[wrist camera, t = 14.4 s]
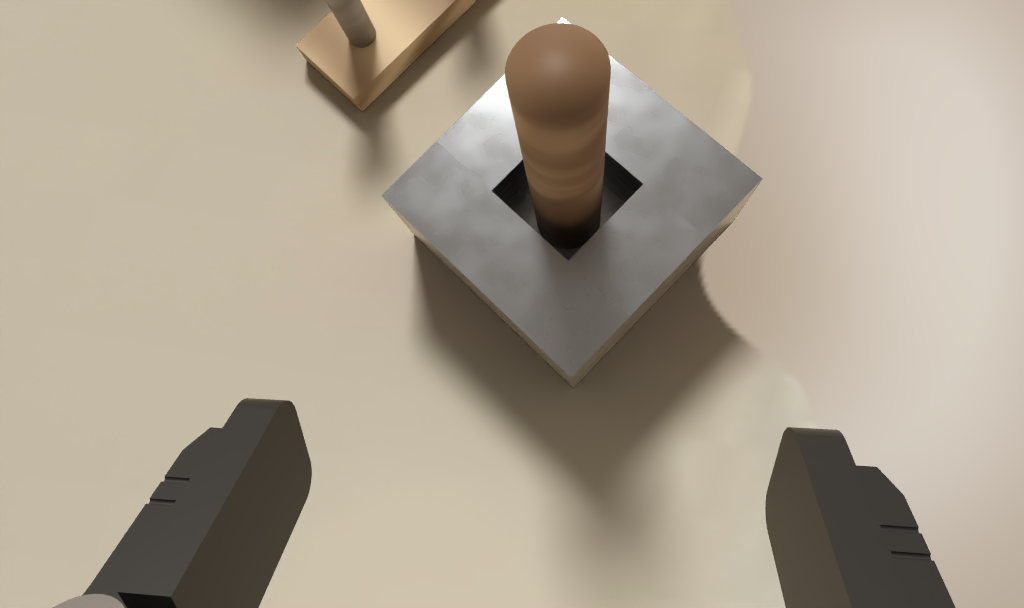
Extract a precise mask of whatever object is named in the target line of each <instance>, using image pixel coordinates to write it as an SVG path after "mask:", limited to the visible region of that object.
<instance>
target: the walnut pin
mask: <svg viewBox="0 0 1024 608" xmlns="http://www.w3.org/2000/svg"><path fill="white" fill-rule="evenodd" d="M610 77H611V64H610V58H609V55H608V52H607V50H606V48H605V47H604V45H603V43H602V42H601V41H600V40H599V39H598V38H597V37H596V36H595V35H594V34H593V33H591V32H590V31H588V30H586V29H584V28H582V27H579V26H577V25H572V24H566V23H555V24H548V25H544V26H541V27H539V28H536V29H534V30H532V31H530V32H529V33H527V34H526V35H525V36H523V37H522V38H521V39H520V40H519V41H518V42H517V43H516V44H515V46H514V47H513V49H512V50H511V52H510V54H509V56H508V59H507V62H506V67H505V81H506V85H507V90H508V94H509V99H510V103H511V108H512V112H513V117H514V121H515V126H516V130H517V135H518V139H519V144H520V149H521V153H522V158H523V162H524V167H525V171H526V176H527V180H528V185H529V189H530V194H531V198H532V203H533V207H534V212H535V216H536V221H537V225H538V229H539V231H540V233H541V235H542V236H543V238H544V239H545V240H546V241H547V242H549V243H550V244H552V245H553V246H556V247H558V248H563V249H574V248H578V247H581V246H583V245H584V244H585V243H586V242H587V241H588V240H589V239H590V238H591V237H592V236H593V235H594V234H595V233H596V232H597V231H598V228H599V225H600V218H601V204H602V190H603V176H604V162H605V148H606V133H607V119H608V105H609V91H610Z"/></svg>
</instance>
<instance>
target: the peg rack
mask: <svg viewBox="0 0 1024 608" xmlns="http://www.w3.org/2000/svg"><path fill="white" fill-rule="evenodd" d="M325 1H326V2H327V4H328V6H329V7H330V9H331V12H330V13H329V14H328V15H327V16H326V17H325V18H324V19H322V20H321V21H320V22H319V23H318V24H317V25H316V26H315V27H314V28H313V29H312V30H311V31H310V32H309V33H308V34H307V35H306V36H305V37H304V38H303V39H302V40H300V41H299V42H298V43H297V44H296V47H297V48H298V49H299V51H300V52H301V53H302V55H303V56H304V58H305V59H306V60H307V61H308V62H309V63H310V64H311V65H312V66H313V67H314V68H316V69H317V70H318V71H319V72H320V73H321V74H322V75H323V76H324V77H325V78H326V79H327V80H328V81H330V82H331V83H332V84H333V85H334V86H335V87H336V88H337V89H338V90H339V91H340V92H341V93H342V94H344V95H345V96H346V97H347V98H348V99H349V100H350V101H351V102H352V103H353V104H354V105H355V106H356V107H358V108H359V109H360V110H361V111H362V112H363V111H364V110H365V109H366V108H367V107H368V106H369V105H370V104H371V103H372V102H373V101H374V100H375V99H376V98H377V97H378V96H379V95H380V94H381V93H382V92H383V91H384V90H385V89H386V88H387V87H388V86H389V85H390V84H392V83H393V82H394V81H395V80H396V79H397V78H398V77H399V76H400V75H401V74H402V73H403V72H404V71H405V70H406V69H407V68H408V67H409V66H410V65H411V64H412V63H413V62H414V61H415V60H416V59H417V58H418V57H419V56H420V55H421V54H422V53H423V52H424V51H425V50H426V49H428V48H429V47H430V46H431V45H432V44H433V43H434V42H435V41H436V40H437V39H438V38H439V37H440V36H441V35H442V34H443V33H444V32H445V31H446V30H447V29H448V28H449V27H450V26H451V25H452V24H453V23H454V22H455V21H456V20H457V19H458V18H459V17H460V16H461V15H463V14H464V13H465V12H466V11H467V10H468V9H469V8H470V7H471V6H472V5H473V4H474V3H475V2H476V1H477V0H325Z"/></svg>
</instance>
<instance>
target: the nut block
mask: <svg viewBox="0 0 1024 608" xmlns="http://www.w3.org/2000/svg"><path fill="white" fill-rule="evenodd" d="M557 23H566V24H570V23H569V22H568V21H567V20H565V19H564V18H563V17H562V18H561V19H560V20H559V21H558V22H557ZM608 55H609V54H608ZM609 58H610V64H611V77H610V91H609V105H608V119H607V133H606V148H605V162H604V176H603V190H602V204H601V218H600V225H599V228H598V231H597V232H596V233H595V234H594V235H593V236H592V237H591V238H590V239H589V240H588V241H587V242H586V243H585V244H584V245H583V246H581V247H578V248H574V249H563V248H558V247H556V246H553V245H552V244H550V243H549V242H547V241H546V240H545V239H544V238H543V236H542V235H541V233H540V231H539V229H538V225H537V221H536V216H535V212H534V207H533V203H532V198H531V194H530V189H529V185H528V180H527V176H526V171H525V167H524V162H523V158H522V153H521V149H520V144H519V139H518V135H517V130H516V126H515V121H514V117H513V112H512V108H511V103H510V99H509V94H508V90H507V85H506V81H505V74H504V75H503V76H502V77H501V78H500V79H499V80H498V81H497V82H496V83H495V84H494V85H493V86H492V87H491V88H490V89H489V90H488V91H487V92H486V93H485V94H484V95H483V96H482V97H481V98H480V99H479V100H478V101H477V102H476V103H475V104H474V105H473V106H472V107H471V108H470V109H469V110H468V111H467V112H466V113H465V114H464V115H463V116H462V117H461V118H460V119H459V120H458V121H457V122H456V123H455V124H454V125H453V126H452V127H451V128H450V129H449V130H448V131H447V132H446V133H445V134H444V135H443V136H442V137H441V138H440V139H438V140H437V141H436V142H435V143H434V144H433V145H432V146H431V147H430V148H429V149H428V150H427V151H426V152H425V153H424V154H423V155H422V156H421V157H420V158H419V159H418V160H417V161H416V162H415V163H414V164H413V165H412V166H411V167H410V168H409V169H408V170H407V171H406V172H405V173H404V174H403V175H402V176H401V177H400V178H399V179H398V180H397V181H396V182H395V183H394V184H393V185H392V186H391V187H390V188H389V189H388V190H387V191H386V192H385V193H384V194H383V195H382V197H383V198H384V199H385V200H386V202H387V203H388V204H389V205H390V206H391V208H392V209H393V210H394V211H395V212H396V214H397V215H398V216H399V217H400V218H401V220H402V221H403V222H404V223H405V224H406V225H407V227H408V228H409V229H410V230H411V231H412V233H413V234H414V235H415V236H416V237H417V238H418V239H419V240H420V241H421V242H422V243H423V244H424V245H426V246H427V247H428V248H429V249H430V250H431V251H432V252H433V253H434V254H435V255H436V256H437V257H438V258H439V259H440V260H441V261H442V262H443V263H444V264H445V265H446V266H447V267H448V268H449V269H450V270H451V271H452V272H454V273H455V274H456V275H457V276H458V277H459V278H460V279H461V280H462V281H463V282H464V283H465V284H466V285H467V286H468V287H469V288H470V289H471V290H472V291H473V292H474V293H475V294H476V295H477V296H478V297H479V298H481V299H482V300H483V301H484V302H485V303H486V304H487V305H488V306H489V307H490V308H491V309H492V310H493V311H494V312H495V313H496V314H497V315H498V316H499V317H500V318H501V319H502V320H503V321H504V322H505V323H506V324H507V325H509V326H510V327H511V328H512V329H513V330H514V331H515V332H516V333H517V334H518V335H519V336H520V337H521V338H522V339H523V340H524V341H525V342H526V343H527V344H528V345H529V346H530V347H531V348H532V349H533V350H534V351H536V352H537V353H538V354H539V355H540V356H541V357H542V358H543V359H544V360H545V361H546V362H547V363H548V364H549V365H550V366H551V367H552V368H553V369H554V370H555V371H556V372H557V373H558V374H559V375H560V376H561V377H563V378H564V379H565V380H566V381H567V382H568V383H569V384H570V385H571V386H572V387H573V388H574V387H575V386H576V385H577V384H578V383H579V382H580V381H581V380H582V378H583V377H584V376H585V375H586V374H587V373H588V372H589V371H590V370H591V369H592V368H593V367H594V366H595V365H596V364H597V363H598V362H599V361H600V360H601V359H602V358H603V357H604V356H605V355H606V354H607V352H608V351H609V350H610V349H611V348H612V347H613V346H614V345H615V344H616V343H617V342H618V341H619V340H620V339H621V338H622V337H623V336H624V335H625V334H626V333H627V332H628V331H629V330H630V329H631V327H632V326H633V325H634V324H635V323H636V322H637V321H638V320H639V319H640V318H641V317H642V316H643V315H644V314H645V313H646V312H647V311H648V310H649V309H650V308H651V307H652V306H653V305H654V304H655V303H656V301H657V300H658V299H659V298H660V297H661V296H662V295H663V294H664V293H665V292H666V291H667V290H668V289H669V288H670V287H671V286H672V285H673V284H674V283H675V282H676V281H677V280H678V279H679V278H680V276H681V275H682V274H683V273H684V272H685V271H686V270H687V269H688V268H689V267H690V266H691V265H692V264H693V263H694V262H695V261H696V260H697V259H698V258H699V257H700V256H701V255H702V254H703V253H704V252H705V250H706V249H707V248H708V247H709V246H710V245H711V244H712V243H713V242H714V241H715V240H716V239H717V238H718V237H719V236H720V235H721V234H722V233H723V232H724V231H725V230H726V229H727V228H728V226H729V225H730V224H731V223H732V222H733V221H734V220H735V218H736V217H737V215H738V214H739V212H740V211H741V209H742V208H743V206H744V205H745V203H746V202H747V201H748V199H749V198H750V196H751V195H752V193H753V192H754V190H755V189H756V187H757V186H758V184H759V183H760V181H761V180H762V178H761V177H760V176H758V175H757V174H756V173H755V172H753V171H752V170H751V169H750V168H749V167H747V166H746V165H745V164H744V163H742V162H741V161H740V160H739V159H737V158H736V157H735V156H734V155H732V154H731V153H730V152H729V151H728V150H726V149H725V148H724V147H723V146H721V145H720V144H719V143H718V142H716V141H715V140H714V139H713V138H711V137H710V136H709V135H708V134H706V133H705V132H704V131H703V130H702V129H700V128H699V127H698V126H697V125H695V124H694V123H693V122H692V121H690V120H689V119H688V118H687V117H685V116H684V115H683V114H682V113H680V112H679V111H678V110H677V109H676V108H674V107H673V106H672V105H671V104H669V103H668V102H667V101H666V100H664V99H663V98H662V97H661V96H659V95H658V94H657V93H656V92H654V91H653V90H652V89H651V88H650V87H648V86H647V85H646V84H645V83H643V82H642V81H641V80H640V79H638V78H637V77H636V76H635V75H633V74H632V73H631V72H630V71H628V70H627V69H626V68H625V67H624V66H622V65H621V64H620V63H619V62H617V61H616V60H615V59H614V58H612V57H611V56H610V55H609Z"/></svg>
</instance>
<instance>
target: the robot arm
mask: <svg viewBox="0 0 1024 608" xmlns="http://www.w3.org/2000/svg"><path fill="white" fill-rule="evenodd" d="M311 476H312V469H311V462H310V458H309V454H308V451H307V447H306V444H305V440H304V437H303V433H302V430H301V426H300V423H299V419H298V416H297V412H296V409H295V406H294V405H293V403H292V402H290V401H285V400H267V399H249V398H246V399H244V400H242V401H241V402H240V403H239V404H238V405H237V406H236V408H235V410H234V411H233V413H232V414H231V416H230V417H229V419H228V420H227V422H226V424H225V425H224V427H223V428H209V429H208V430H207V431H206V432H204V433H203V434H202V435H201V436H199V437H198V438H197V439H196V440H195V441H193V442H192V443H191V444H190V445H188V446H187V447H186V448H185V449H183V451H182V452H181V453H180V455H179V456H178V458H177V459H176V461H175V462H174V464H173V465H172V467H171V468H170V470H169V471H168V472H167V474H166V475H165V480H164V482H161V483H160V484H159V486H158V487H157V488H156V490H155V491H154V493H153V494H152V496H151V497H150V503H149V504H146V505H145V506H144V507H143V509H142V510H141V512H140V513H139V515H138V516H137V518H136V519H135V521H134V522H133V524H132V525H131V526H130V528H129V529H128V531H127V532H126V534H125V535H124V537H123V538H122V540H121V541H120V542H119V544H118V545H117V547H116V548H115V550H114V551H113V553H112V554H111V556H110V557H109V559H108V560H107V561H106V563H105V564H104V566H103V567H102V569H101V570H100V572H99V573H98V575H97V576H96V578H95V579H94V580H93V582H92V583H91V585H90V586H89V587H88V589H87V590H86V591H85V593H84V594H83V595H82V596H79V597H75V598H72V599H70V600H67V601H65V602H63V603H61V604H59V605H57V606H55V607H53V608H258V607H259V605H260V603H261V600H262V598H263V596H264V594H265V591H266V589H267V587H268V585H269V582H270V580H271V578H272V576H273V574H274V571H275V569H276V567H277V565H278V562H279V560H280V558H281V556H282V553H283V551H284V549H285V547H286V544H287V542H288V540H289V538H290V535H291V533H292V531H293V529H294V527H295V524H296V522H297V520H298V518H299V515H300V513H301V511H302V509H303V506H304V504H305V502H306V499H307V497H308V494H309V490H310V485H311ZM766 524H767V530H768V535H769V539H770V543H771V547H772V551H773V555H774V560H775V564H776V568H777V572H778V576H779V581H780V585H781V589H782V593H783V597H784V601H785V606H786V608H955V606H954V604H953V602H952V599H951V597H950V595H949V593H948V590H947V588H946V586H945V584H944V582H943V579H942V577H941V575H940V573H939V571H938V569H937V566H936V564H935V562H934V561H932V560H931V558H930V555H931V553H930V551H929V549H928V547H927V545H926V543H925V540H924V538H923V536H922V534H919V532H918V525H917V523H916V521H915V519H914V516H913V514H912V512H911V510H910V508H909V505H908V503H907V501H906V499H905V497H904V495H903V494H902V493H901V492H900V491H899V490H898V489H897V488H896V487H895V486H894V484H892V482H891V481H890V480H889V479H888V478H887V477H886V476H885V475H884V474H883V473H882V472H881V471H880V470H879V469H878V468H877V467H869V466H856V465H855V462H854V460H853V457H852V455H851V452H850V450H849V448H848V445H847V442H846V440H845V438H844V436H843V435H842V433H841V432H840V431H838V430H827V429H809V428H791V427H788V428H786V430H785V431H784V433H783V436H782V440H781V443H780V447H779V450H778V454H777V458H776V461H775V465H774V468H773V472H772V475H771V479H770V483H769V486H768V490H767V495H766Z"/></svg>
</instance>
